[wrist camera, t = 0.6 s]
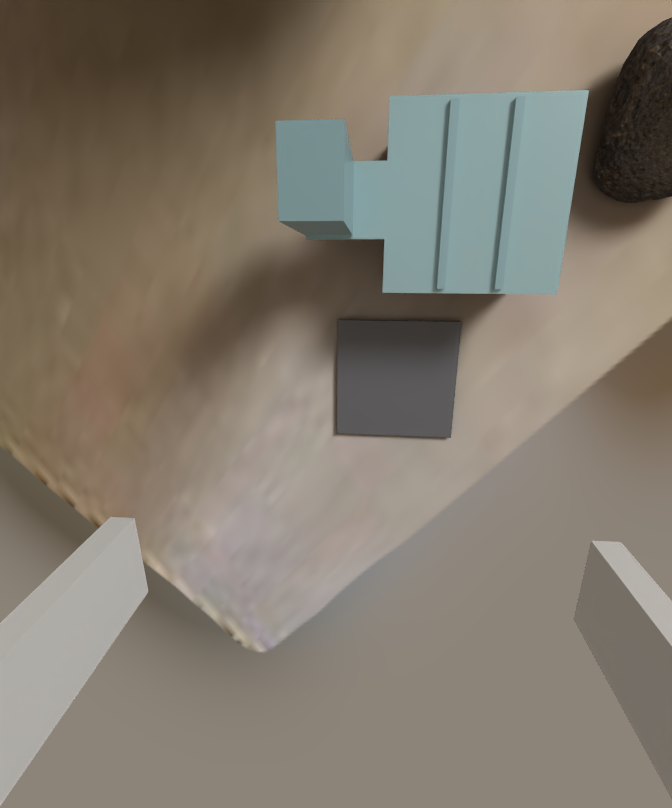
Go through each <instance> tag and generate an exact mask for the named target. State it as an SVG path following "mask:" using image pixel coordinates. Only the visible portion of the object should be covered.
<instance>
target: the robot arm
mask: <svg viewBox="0 0 672 808" xmlns="http://www.w3.org/2000/svg"><path fill="white" fill-rule="evenodd" d="M147 593H148V587H147V582H146V577H145V571H144V566H143V561H142V555H141V550H140V545H139V539H138V534H137V529H136V524H135V518H118V517H110V518H109V519H108V520H107V521H106V522H105V523H104V524H103V525H102V526H101V527H100V528H99V529H98V530H97V531H96V532H94V533H93V534H92V535H91V536H90V537H89V538H88V539H87V540H86V541H85V542H84V543H83V544H82V545H81V546H80V547H79V548H78V549H77V550H76V551H75V552H74V553H73V554H72V555H71V556H70V557H68V559H66V560H65V561H64V562H63V563H62V564H61V565H60V566H59V567H58V568H57V569H56V570H55V571H54V572H53V573H52V574H51V575H50V576H49V577H48V578H47V579H46V580H45V581H44V582H43V583H41V584H40V585H39V587H37V589H35V590H34V591H33V592H32V593H31V594H30V595H29V596H28V597H27V598H26V599H25V600H24V601H23V602H22V603H21V604H20V605H19V606H18V607H17V608H15V609H14V610H13V611H12V612H11V613H10V614H9V615H8V616H7V617H6V618H5V619H4V620H3V621H2V622H1V623H0V806H1V804H2V803H3V801H4V800H5V798H6V797H7V795H8V794H9V792H10V791H11V790H12V788H13V787H14V785H15V784H16V782H17V781H18V779H19V778H20V776H21V775H22V774H23V772H24V771H25V769H26V768H27V766H28V765H29V763H30V762H31V761H32V759H33V758H34V756H35V755H36V753H37V752H38V750H39V749H40V748H41V746H42V745H43V743H44V742H45V740H46V739H47V737H48V736H49V735H50V733H51V731H52V730H53V729H54V727H55V726H56V724H57V723H58V721H59V720H60V719H61V717H62V716H63V714H64V713H65V711H66V710H67V709H68V707H69V706H70V704H71V703H72V701H73V700H74V698H75V697H76V696H77V694H78V693H79V691H80V690H81V688H82V687H83V685H84V684H85V683H86V681H87V680H88V678H89V677H90V675H91V674H92V672H93V671H94V670H95V668H96V667H97V665H98V664H99V662H100V661H101V659H102V658H103V657H104V655H105V654H106V652H107V651H108V649H109V648H110V646H111V645H112V643H113V642H114V641H115V639H116V638H117V636H118V635H119V633H120V632H121V630H122V629H123V628H124V626H125V625H126V623H127V622H128V620H129V619H130V617H131V616H132V615H133V613H134V612H135V610H136V609H137V607H138V606H139V604H140V603H141V602H142V600H143V599H144V597H145V596H146V594H147ZM574 621H575V623H576V625H577V627H578V628H579V630H580V632H581V634H582V636H583V638H584V639H585V641H586V643H587V645H588V647H589V648H590V650H591V652H592V654H593V655H594V657H595V659H596V661H597V663H598V665H599V666H600V669H601V670H602V672H603V674H604V676H605V678H606V680H607V681H608V683H609V685H610V687H611V688H612V691H613V692H614V694H615V696H616V698H617V700H618V702H619V703H620V705H621V707H622V709H623V711H624V712H625V714H626V716H627V718H628V720H629V722H630V723H631V725H632V727H633V729H634V731H635V732H636V734H637V736H638V738H639V740H640V742H641V743H642V745H643V747H644V749H645V751H646V753H647V755H648V756H649V758H650V760H651V762H652V764H653V766H654V767H655V769H656V771H657V773H658V775H659V776H660V778H661V780H662V782H663V784H664V786H665V787H666V789H667V791H668V793H669V795H670V797H671V798H672V601H671V600H670V599H669V598H668V596H667V595H666V594H665V593H664V592H663V591H662V589H660V587H659V586H658V585H657V584H656V583H655V581H654V580H653V579H652V578H651V577H650V576H649V574H648V573H647V572H646V571H645V570H644V569H643V568H642V566H641V565H640V564H639V563H638V562H637V561H636V559H635V558H634V557H633V556H632V555H631V554H630V552H629V551H628V550H627V549H626V548H625V547H624V546H623V544H622V543H621V542H607V541H591V544H590V549H589V553H588V557H587V562H586V566H585V571H584V575H583V580H582V584H581V589H580V593H579V598H578V602H577V607H576V611H575V616H574Z"/></svg>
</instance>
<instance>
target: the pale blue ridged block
mask: <svg viewBox="0 0 672 808" xmlns="http://www.w3.org/2000/svg"><path fill="white" fill-rule="evenodd" d="M588 93H589V90H575V91H542V92H510V93H477V94H445V95H412V96H390V99H389V124H388V151H387V161H353V157H352V152H351V147H350V143H349V138H348V133H347V128H346V123H345V119H326V120H288V121H275V124H276V154H277V184H278V215H279V222H281V223H283V224H285V225H287V226H289V227H291V228H293V229H295V230H296V231H298V232H300V233H302V234H304V235H306V239H307V240H384V261H383V289H382V293H461V294H557V292H558V285H559V279H560V272H561V266H562V260H563V253H564V247H565V240H566V234H567V228H568V221H569V215H570V208H571V202H572V196H573V189H574V183H575V176H576V170H577V164H578V157H579V151H580V144H581V138H582V132H583V125H584V119H585V112H586V106H587V100H588Z"/></svg>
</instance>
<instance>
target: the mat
mask: <svg viewBox="0 0 672 808" xmlns="http://www.w3.org/2000/svg"><path fill="white" fill-rule="evenodd" d="M460 332H461V321H393V320H338V353H337V433H341V434H368V435H394V436H421V437H447V438H451V429H452V419H453V408H454V397H455V386H456V375H457V364H458V354H459V343H460Z"/></svg>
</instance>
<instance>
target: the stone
mask: <svg viewBox="0 0 672 808" xmlns="http://www.w3.org/2000/svg"><path fill="white" fill-rule="evenodd" d="M594 180H595V182H596V184H597V185H598V187H599V188H600V189H601V190H602V191H603V192H604V193H605V194H606V195H608V196H610V197H612V198H614V199H615V200H618V201H623V202H640V201H646V200H656V199H662V198H666V197H670V196H672V18H669V19H667V20H665V21H663V22H661V23H660V24H658V25H657V26H655V27H654V28H652V29H651V30H649V31H648V32H647V33H646V34H644V35H643V36H642V37H641V38H640V39H639V40H638V42H637V43H636V45H635V46H634V48H633V50H632V51H631V53H630V55H629V56H628V58H627V59H626V61H625V63H624V64H623V67H622V69H621V72H620V75H619V77H618V80H617V83H616V85H615V88H614V90H613V93H612V95H611V98H610V100H609V104H608V107H607V111H606V114H605V123H604V132H603V138H602V141H601V144H600V148H599V152H598V155H597V158H596V162H595V166H594Z"/></svg>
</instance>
